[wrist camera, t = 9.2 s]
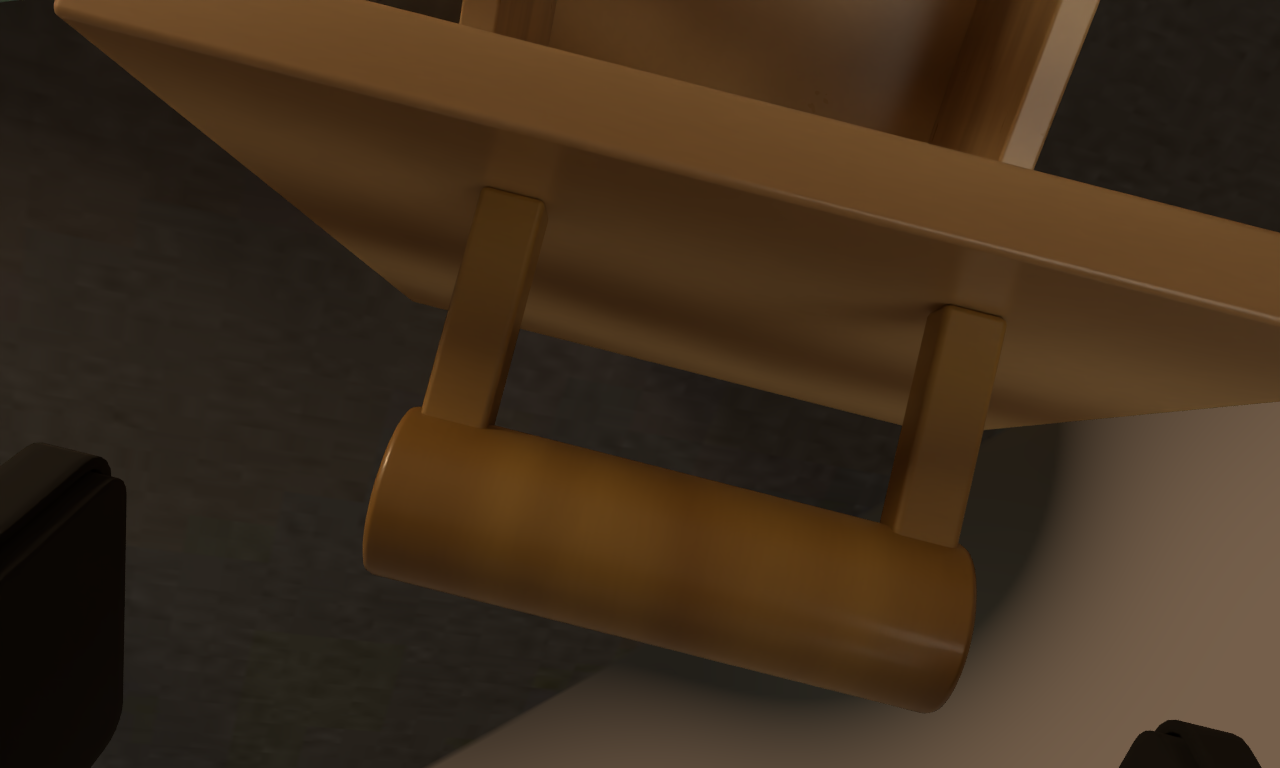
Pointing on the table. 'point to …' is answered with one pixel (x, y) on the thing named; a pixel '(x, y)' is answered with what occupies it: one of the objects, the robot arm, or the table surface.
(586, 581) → the box lid
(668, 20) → the wooden box
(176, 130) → the table surface
